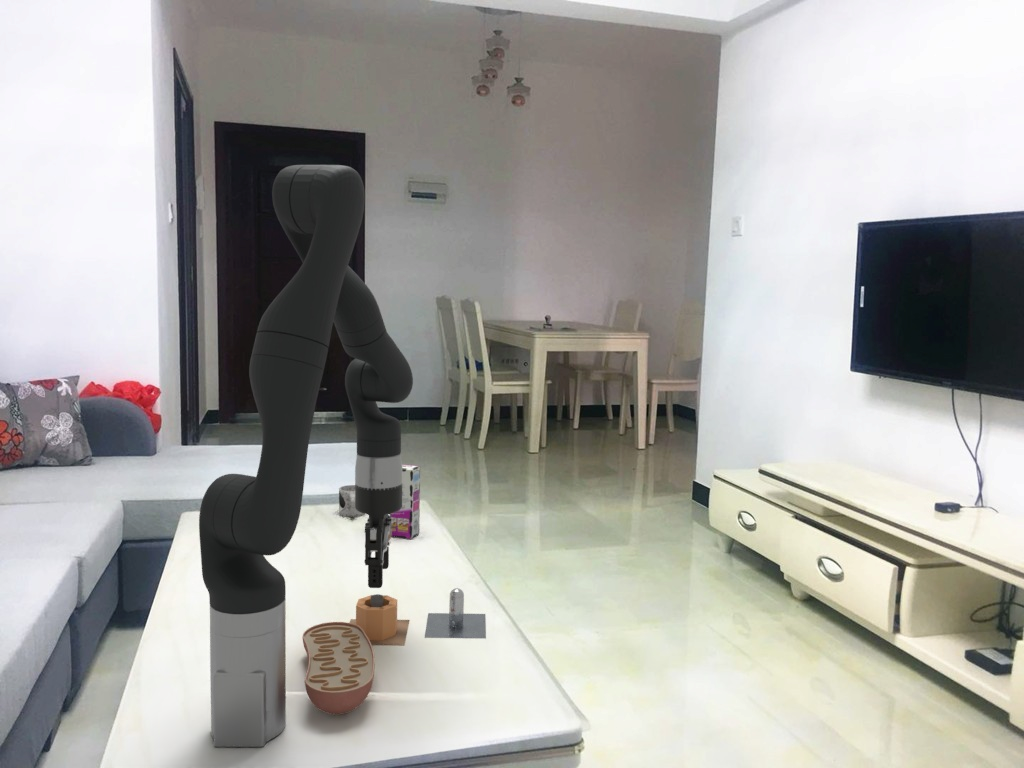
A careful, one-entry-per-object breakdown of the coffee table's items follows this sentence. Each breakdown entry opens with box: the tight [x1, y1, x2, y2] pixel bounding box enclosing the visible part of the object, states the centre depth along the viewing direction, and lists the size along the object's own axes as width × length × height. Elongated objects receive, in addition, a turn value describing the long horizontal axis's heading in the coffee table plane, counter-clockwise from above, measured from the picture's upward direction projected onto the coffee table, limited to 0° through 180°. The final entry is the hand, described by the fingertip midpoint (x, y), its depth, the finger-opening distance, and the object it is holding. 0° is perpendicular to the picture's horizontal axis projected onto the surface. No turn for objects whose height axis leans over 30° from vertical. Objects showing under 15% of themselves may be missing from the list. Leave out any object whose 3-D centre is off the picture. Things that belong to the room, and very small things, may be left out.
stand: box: [348, 593, 411, 647], centre depth 133 cm, size 10×10×7 cm
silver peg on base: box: [424, 587, 487, 639], centre depth 137 cm, size 10×10×7 cm
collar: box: [355, 594, 398, 640], centre depth 133 cm, size 6×6×5 cm
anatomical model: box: [302, 621, 376, 716], centre depth 117 cm, size 23×10×5 cm, turn 16°
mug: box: [338, 484, 367, 518], centre depth 204 cm, size 10×7×7 cm, turn 12°
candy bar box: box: [368, 464, 421, 540], centre depth 189 cm, size 11×5×16 cm, turn 73°
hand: (378, 577), depth 133 cm, fingers open, 8 cm apart
